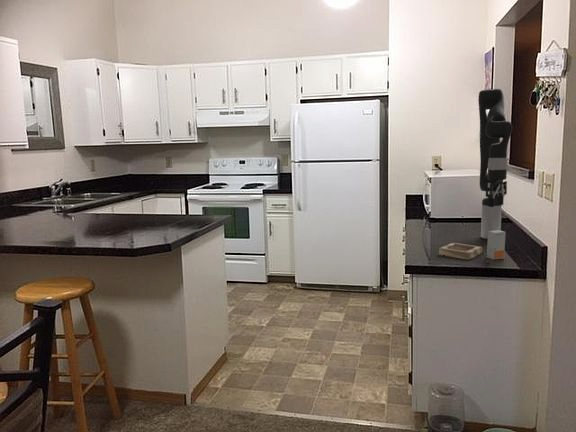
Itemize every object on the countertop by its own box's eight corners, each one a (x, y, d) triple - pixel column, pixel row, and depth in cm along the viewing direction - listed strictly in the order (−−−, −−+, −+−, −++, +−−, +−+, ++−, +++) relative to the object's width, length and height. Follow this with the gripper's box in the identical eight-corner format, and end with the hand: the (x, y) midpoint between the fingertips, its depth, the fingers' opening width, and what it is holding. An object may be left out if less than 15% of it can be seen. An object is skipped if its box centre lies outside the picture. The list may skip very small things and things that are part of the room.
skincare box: (493, 260, 211) (494, 232, 209) (486, 257, 215) (487, 231, 213) (504, 258, 213) (506, 231, 211) (498, 256, 217) (499, 229, 215)
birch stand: (452, 248, 232) (452, 242, 232) (482, 253, 223) (482, 246, 222) (438, 254, 223) (439, 248, 222) (469, 259, 213) (469, 252, 212)
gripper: (496, 167, 217) (495, 203, 220) (480, 169, 208) (479, 206, 210) (513, 167, 212) (511, 205, 214) (497, 169, 203) (496, 208, 205)
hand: (495, 205), depth 212 cm, fingers open, 8 cm apart
